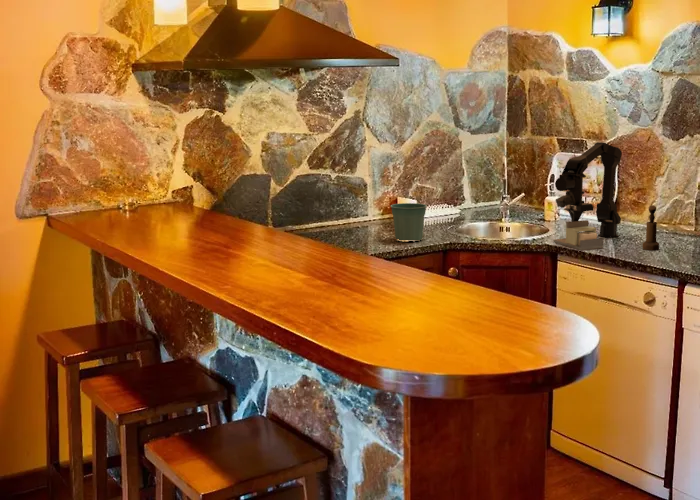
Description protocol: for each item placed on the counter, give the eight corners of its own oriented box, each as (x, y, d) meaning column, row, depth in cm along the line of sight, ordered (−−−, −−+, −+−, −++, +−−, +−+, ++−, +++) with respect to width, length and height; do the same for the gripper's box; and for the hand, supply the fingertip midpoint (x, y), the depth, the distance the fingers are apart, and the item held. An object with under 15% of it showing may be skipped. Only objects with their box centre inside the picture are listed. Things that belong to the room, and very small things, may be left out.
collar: (588, 242, 346) (588, 231, 345) (596, 245, 340) (596, 233, 339) (575, 244, 344) (576, 232, 343) (584, 246, 339) (584, 234, 338)
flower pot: (419, 236, 380) (418, 201, 377) (433, 242, 364) (432, 206, 361) (386, 239, 375) (385, 204, 372) (398, 245, 360) (397, 209, 357)
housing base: (575, 240, 359) (575, 230, 358) (603, 248, 340) (603, 237, 339) (553, 242, 356) (553, 232, 355) (580, 250, 337) (580, 240, 336)
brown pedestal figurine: (639, 247, 339) (641, 204, 336) (654, 246, 340) (656, 204, 336) (646, 250, 333) (648, 206, 329) (662, 250, 333) (664, 206, 330)
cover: (586, 240, 350) (586, 220, 349) (595, 242, 344) (596, 222, 342) (565, 242, 347) (566, 222, 346) (575, 245, 341) (575, 224, 339)
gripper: (546, 187, 352) (546, 223, 355) (571, 192, 335) (570, 230, 338) (569, 186, 355) (568, 221, 358) (594, 190, 338) (593, 227, 341)
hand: (574, 225), depth 349 cm, fingers closed
